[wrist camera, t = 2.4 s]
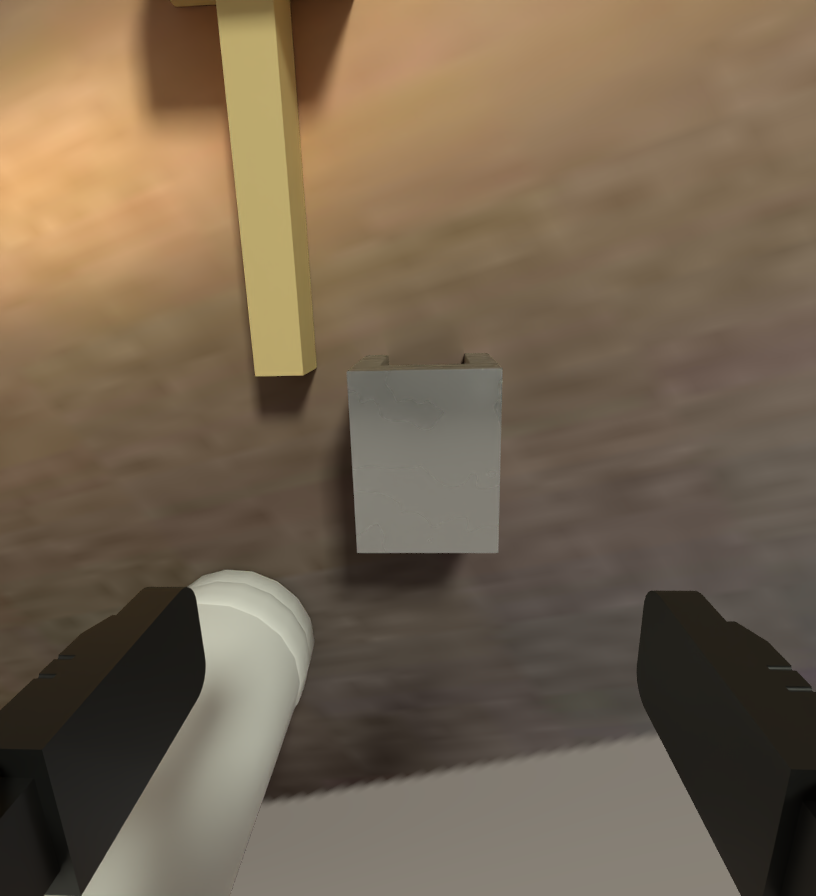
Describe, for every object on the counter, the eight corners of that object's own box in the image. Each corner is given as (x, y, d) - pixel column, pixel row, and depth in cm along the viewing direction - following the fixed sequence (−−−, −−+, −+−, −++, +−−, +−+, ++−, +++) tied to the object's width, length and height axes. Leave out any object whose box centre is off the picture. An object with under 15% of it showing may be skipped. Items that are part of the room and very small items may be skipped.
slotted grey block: (486, 352, 23) (502, 368, 18) (484, 499, 25) (498, 553, 20) (366, 355, 24) (346, 371, 18) (373, 500, 25) (357, 552, 20)
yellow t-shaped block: (350, -103, 19) (325, -222, 15) (371, 366, 24) (356, 381, 19) (163, -90, 19) (85, -202, 15) (219, 369, 24) (172, 385, 20)
